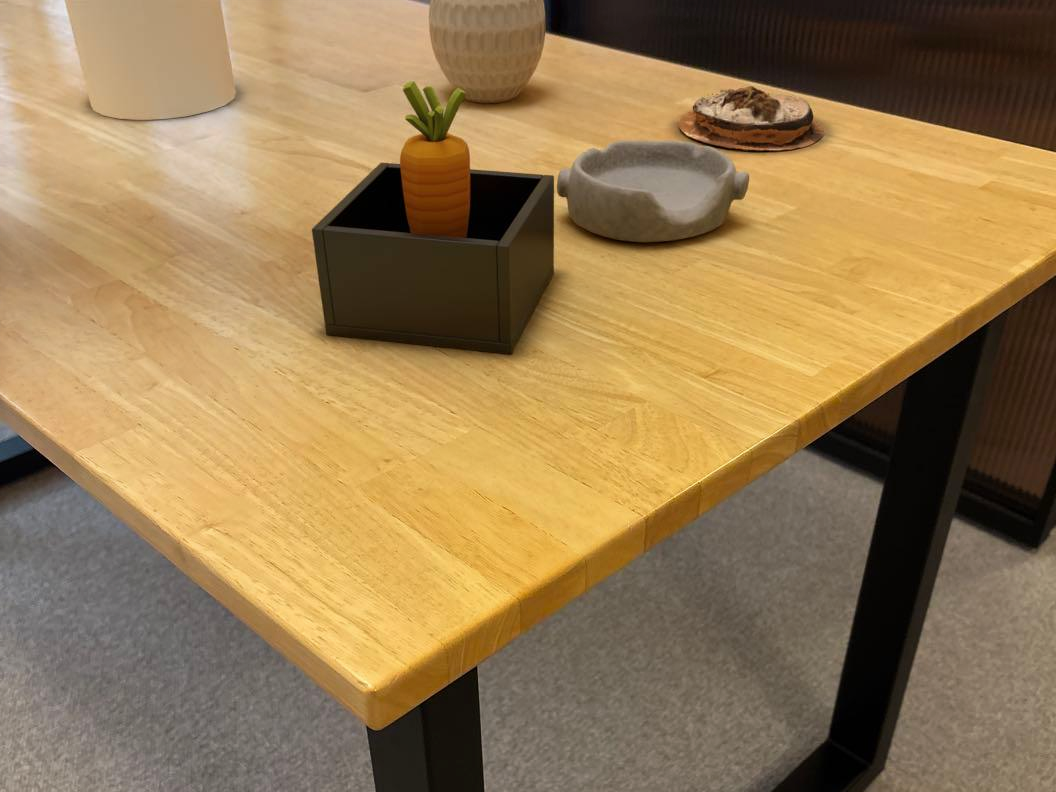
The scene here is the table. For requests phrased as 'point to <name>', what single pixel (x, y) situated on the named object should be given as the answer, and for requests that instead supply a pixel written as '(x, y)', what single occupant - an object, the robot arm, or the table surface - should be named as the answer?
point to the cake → (752, 121)
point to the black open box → (437, 264)
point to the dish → (651, 190)
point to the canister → (152, 56)
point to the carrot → (435, 167)
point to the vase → (488, 45)
